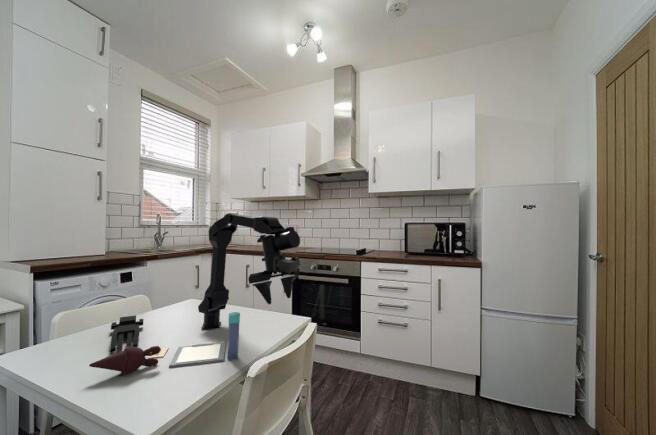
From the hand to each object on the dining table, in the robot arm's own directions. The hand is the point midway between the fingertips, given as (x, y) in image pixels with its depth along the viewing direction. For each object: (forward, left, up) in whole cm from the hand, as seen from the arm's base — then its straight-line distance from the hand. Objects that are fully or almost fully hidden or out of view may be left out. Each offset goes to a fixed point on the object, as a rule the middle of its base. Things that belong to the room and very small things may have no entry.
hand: (279, 301), depth 88 cm
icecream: (+4, -40, -16) cm, 43 cm away
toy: (-17, -48, -16) cm, 53 cm away
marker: (+2, -14, -15) cm, 21 cm away
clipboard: (-2, -23, -15) cm, 28 cm away
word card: (-6, -35, -15) cm, 39 cm away
